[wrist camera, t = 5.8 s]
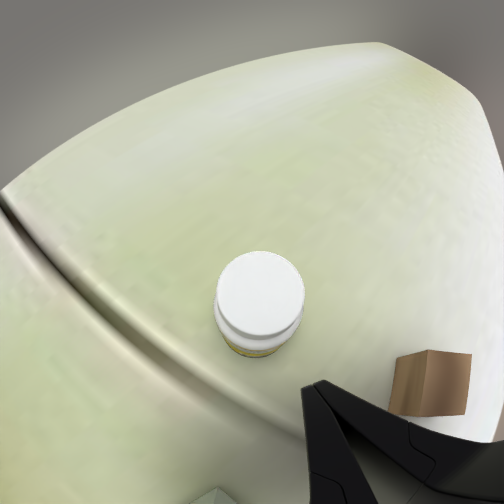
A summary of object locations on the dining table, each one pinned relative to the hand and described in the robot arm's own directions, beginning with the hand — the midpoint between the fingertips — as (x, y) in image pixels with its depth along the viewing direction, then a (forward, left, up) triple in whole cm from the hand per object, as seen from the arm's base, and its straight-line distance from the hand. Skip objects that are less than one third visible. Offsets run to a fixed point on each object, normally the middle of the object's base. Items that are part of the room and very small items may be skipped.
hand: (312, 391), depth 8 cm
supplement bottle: (+3, -3, -11) cm, 12 cm away
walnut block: (-11, -4, -11) cm, 16 cm away
